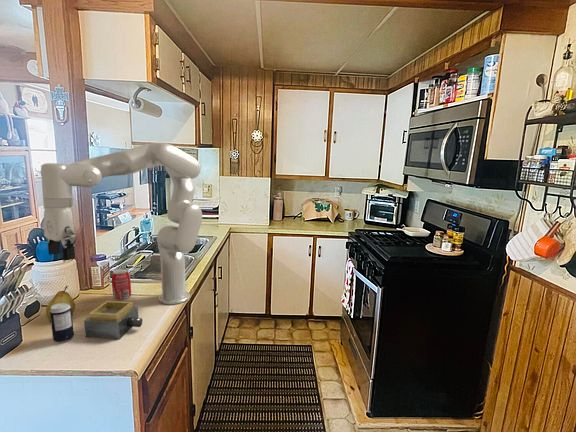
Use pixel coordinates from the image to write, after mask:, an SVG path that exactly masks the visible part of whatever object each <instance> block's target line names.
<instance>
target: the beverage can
mask: <svg viewBox="0 0 576 432" xmlns="http://www.w3.org/2000/svg"><path fill="white" fill-rule="evenodd" d="M50 318H51V320H50V325H51V333H52V340H53V342H55V343H57V344H64V343H67V342H69V341H71V339H72V338H73V337H74V336H75V331H74V322H73V314H72V312H71V306H70V305H69V303H66V302H63V303H58V304H55V305H53V306H52V307H51V310H50Z"/></svg>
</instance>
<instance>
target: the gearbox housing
mask: <svg viewBox="0 0 576 432" xmlns="http://www.w3.org/2000/svg"><path fill="white" fill-rule="evenodd" d="M142 325H143V318H142V317H139V307H138V305H133V302H132V301H131V302H130V301H119V300H116V301H113V300H106V301H105V302H103V303H102V304H101V305H99V306H98V307H96V308H95V309H94V310H92V311H91V312H89V313H88V317H87V318H86V319H84V320H83V326H84V337H85V338H93V339H94V338H95V339H108V340H110V339H111V340H121V339H122V338H124V336H125V335H126V334H127V333H128V332H129V331H130V330H132V328H140V327H142Z"/></svg>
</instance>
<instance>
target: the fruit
mask: <svg viewBox="0 0 576 432" xmlns="http://www.w3.org/2000/svg"><path fill="white" fill-rule="evenodd" d="M68 287H69V286H68V285H66V286H65V287H64V289H63V290H60V291H58V292H56V294H55V295H54V296H53V297H52V299H51V300H50V301H49V302H48V304H47V306H46V308H45V313H46V316H47V318H48V319H49V320H50V321H51V318H50V310H51V307H52V306H53V305H55V304H58V303H63V302H66V303H69V305H70V306H71V312H72V315H73V314H74V313H75V311H76V302H75V299H74V298H73V297H72V296H71V294H69V292H67V291H66V290H67V289H68Z"/></svg>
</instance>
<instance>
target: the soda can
mask: <svg viewBox="0 0 576 432" xmlns="http://www.w3.org/2000/svg"><path fill="white" fill-rule="evenodd" d="M111 289H112V290H111V291H112V296H113V299H114V300H116V301H124V300H127V299H129V297H131V296H132V283H131V273H130V272H129V270H128V269H127V268H117V269H115V270H113V271H112V275H111Z"/></svg>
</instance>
